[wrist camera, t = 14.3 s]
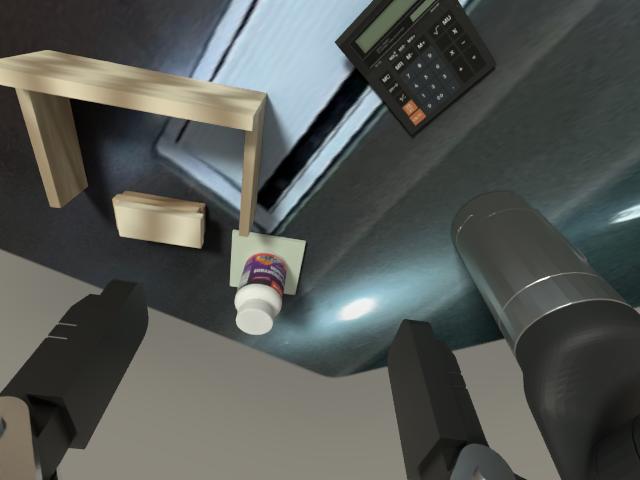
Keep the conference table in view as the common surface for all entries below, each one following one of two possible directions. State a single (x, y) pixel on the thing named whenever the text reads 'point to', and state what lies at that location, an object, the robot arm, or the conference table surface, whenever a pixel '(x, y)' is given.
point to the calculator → (416, 55)
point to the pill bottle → (260, 292)
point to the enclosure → (128, 92)
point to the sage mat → (260, 242)
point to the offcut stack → (160, 219)
